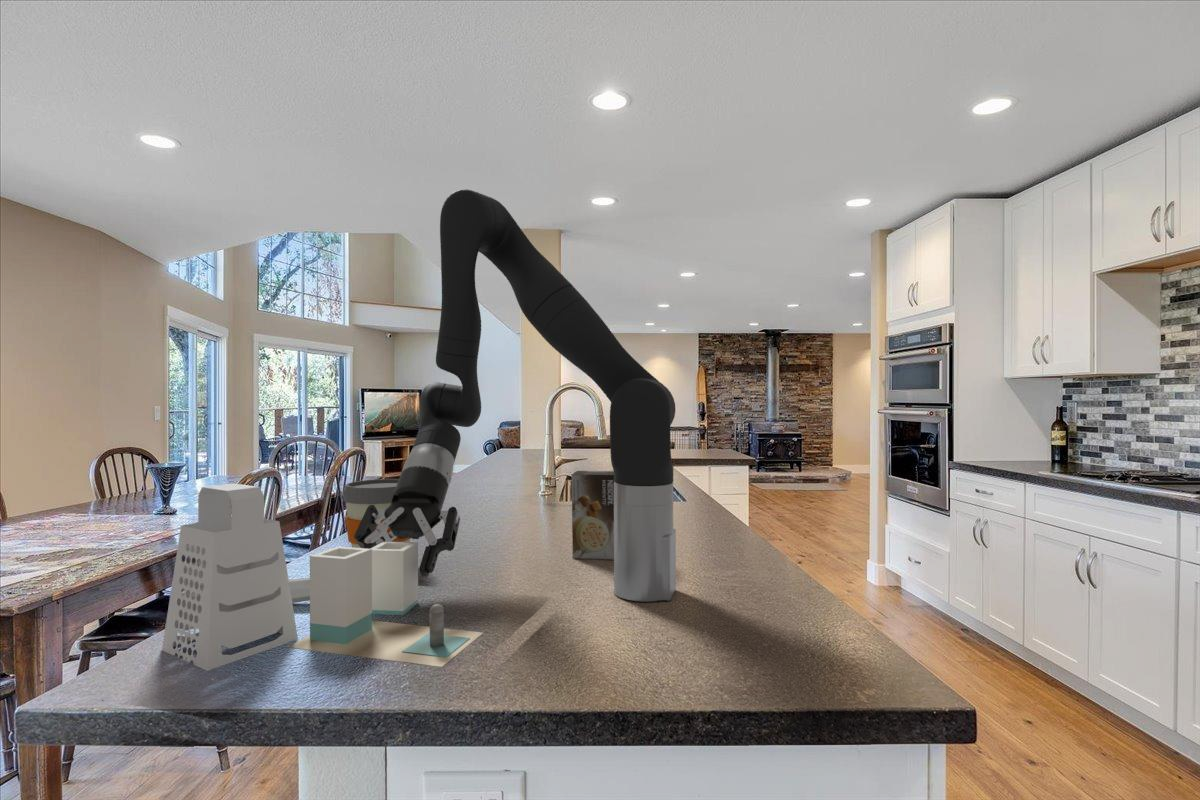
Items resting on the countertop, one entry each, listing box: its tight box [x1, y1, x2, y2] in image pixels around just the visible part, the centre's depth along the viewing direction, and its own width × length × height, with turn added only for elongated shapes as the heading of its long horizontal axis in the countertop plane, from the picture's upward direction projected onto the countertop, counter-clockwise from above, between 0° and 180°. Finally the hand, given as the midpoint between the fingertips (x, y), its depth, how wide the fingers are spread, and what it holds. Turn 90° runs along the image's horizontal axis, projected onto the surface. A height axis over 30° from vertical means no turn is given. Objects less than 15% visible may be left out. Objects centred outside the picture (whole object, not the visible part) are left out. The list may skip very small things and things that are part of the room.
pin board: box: [287, 603, 484, 668], centre depth 74 cm, size 20×10×6 cm, turn 75°
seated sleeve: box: [309, 546, 373, 644], centre depth 76 cm, size 5×5×10 cm
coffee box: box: [571, 470, 614, 560], centre depth 119 cm, size 9×6×16 cm
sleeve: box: [371, 541, 419, 616], centre depth 85 cm, size 5×5×10 cm
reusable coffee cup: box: [343, 478, 412, 548], centre depth 112 cm, size 13×13×15 cm
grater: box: [161, 482, 299, 672], centre depth 73 cm, size 10×10×20 cm
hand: (393, 573), depth 86 cm, fingers open, 8 cm apart
